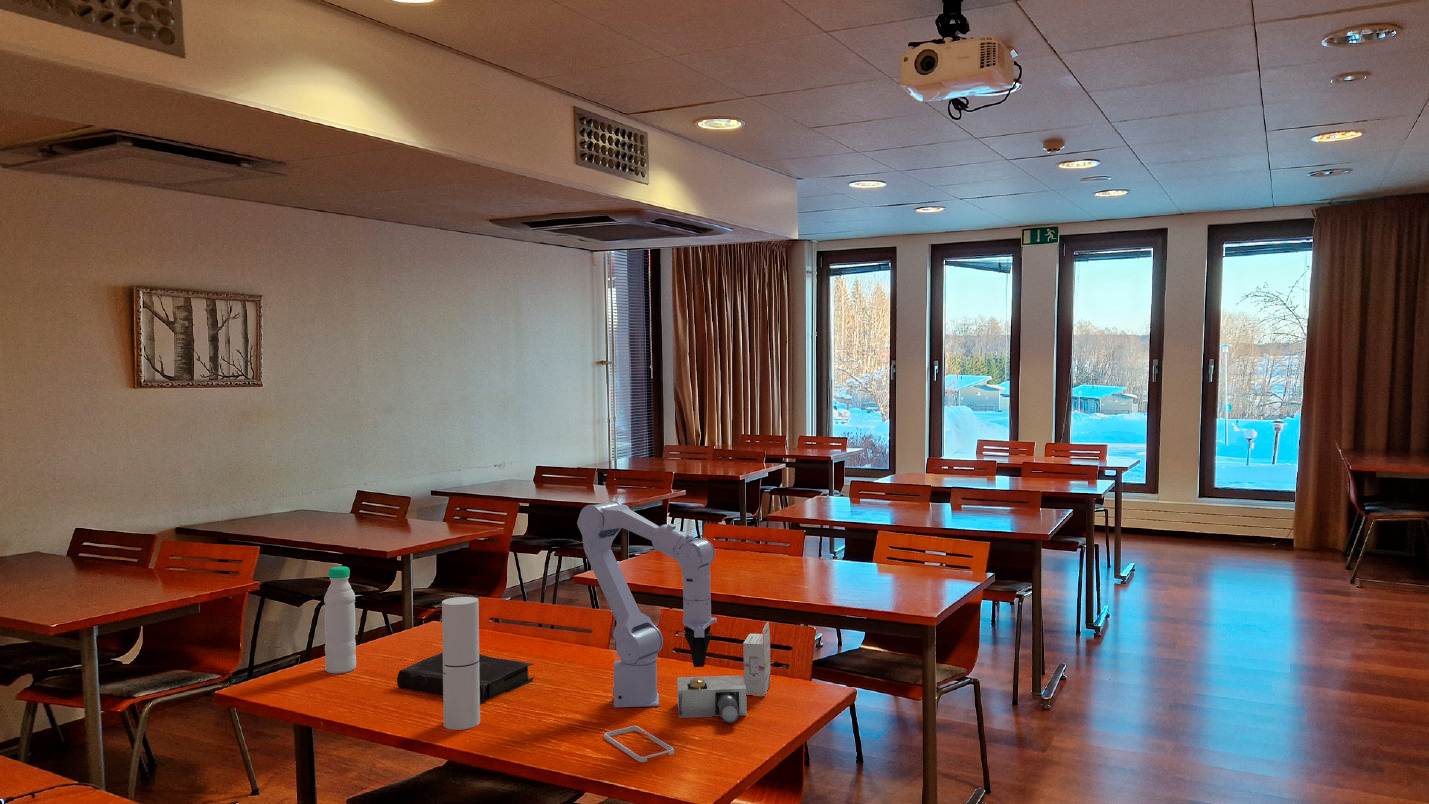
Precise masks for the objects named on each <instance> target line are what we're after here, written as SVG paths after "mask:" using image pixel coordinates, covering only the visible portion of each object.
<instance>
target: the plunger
mask: <svg viewBox="0 0 1429 804" xmlns="http://www.w3.org/2000/svg"><path fill="white" fill-rule="evenodd" d="M695 689H705V681H704V679H700V678H695V679H691V680H690V690H695Z"/></svg>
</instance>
